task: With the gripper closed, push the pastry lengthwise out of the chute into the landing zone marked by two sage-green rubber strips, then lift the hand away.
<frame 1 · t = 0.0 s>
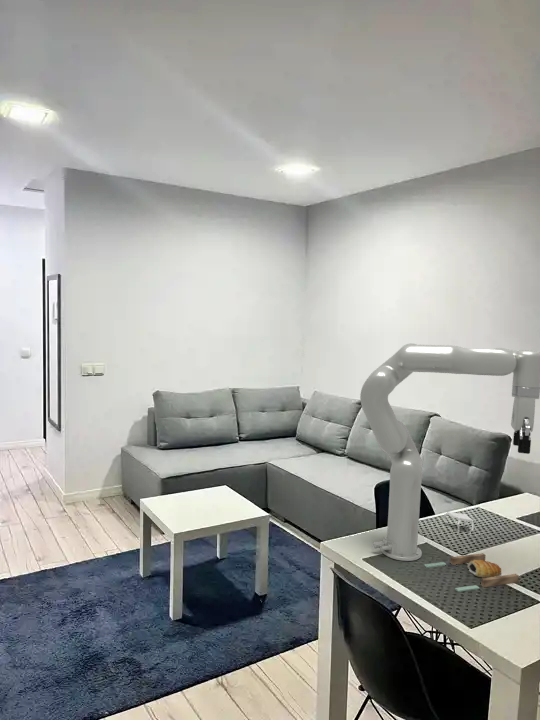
hand: (521, 449, 168), 37 cm above the table, tool pointing down, fingers open, 9 cm apart
chute: (483, 572, 169), on the table
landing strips: (450, 576, 165), on the table
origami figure: (458, 528, 204), on the table
pastry: (482, 573, 169), on the table
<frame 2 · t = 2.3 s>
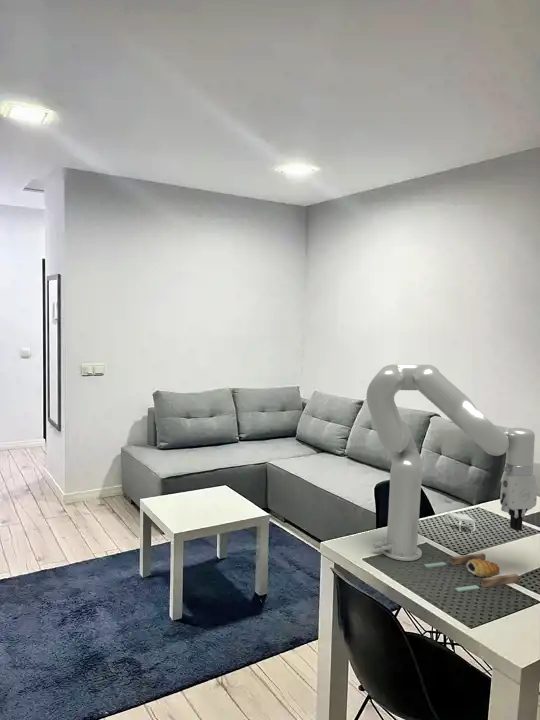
hand: (515, 529, 170), 13 cm above the table, tool pointing down, fingers closed
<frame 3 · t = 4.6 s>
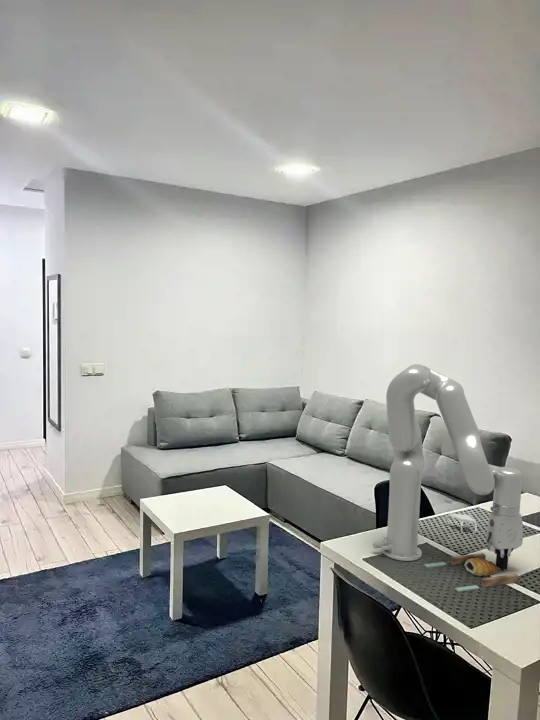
hand: (501, 567, 171), 1 cm above the table, tool pointing down, fingers closed
pastry: (479, 572, 170), on the table, touching gripper
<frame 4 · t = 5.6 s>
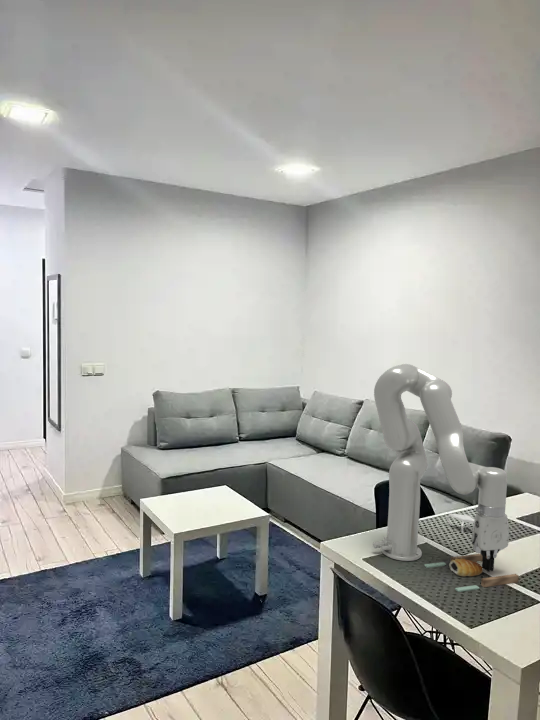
hand: (487, 569, 169), 1 cm above the table, tool pointing down, fingers closed
pastry: (464, 572, 169), on the table, touching gripper
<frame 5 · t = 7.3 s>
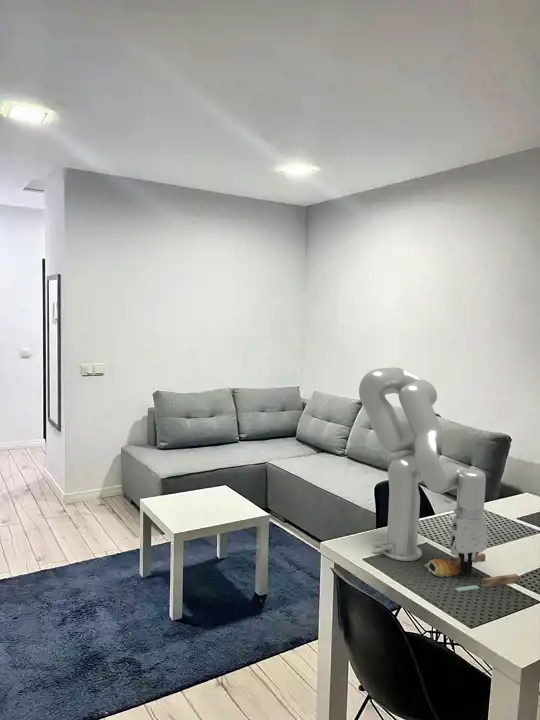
hand: (465, 572, 166), 1 cm above the table, tool pointing down, fingers closed
pastry: (442, 573, 168), on the table
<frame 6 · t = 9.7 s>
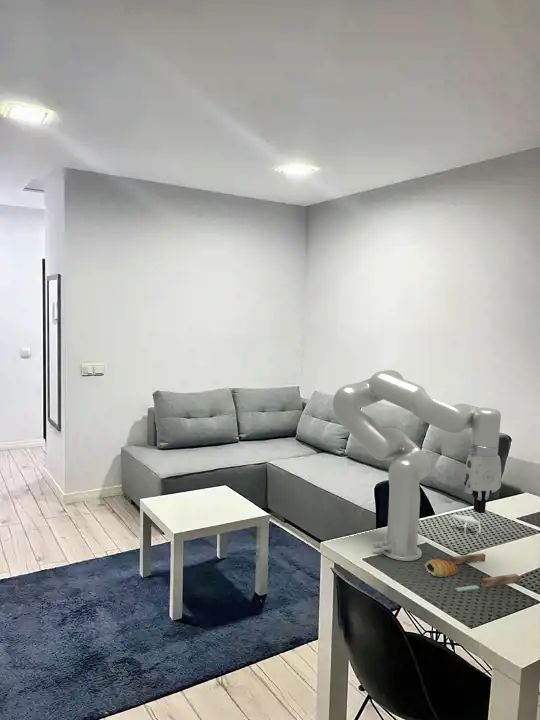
hand: (479, 511, 166), 19 cm above the table, tool pointing down, fingers closed
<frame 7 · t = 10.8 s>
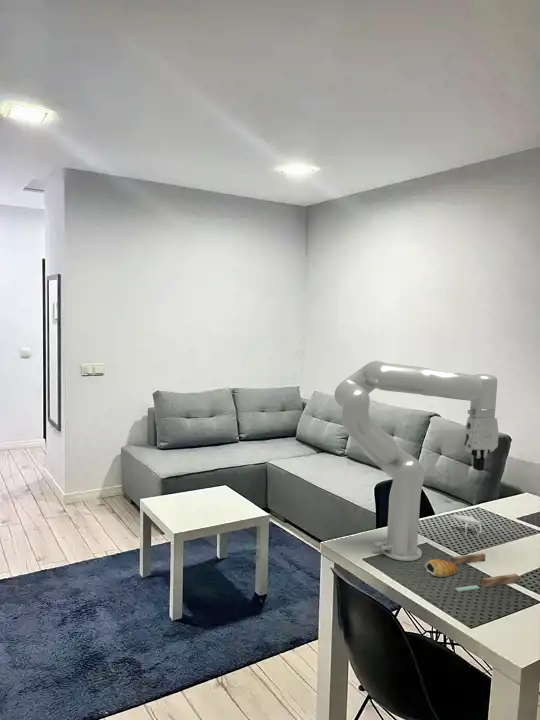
hand: (478, 469, 182), 27 cm above the table, tool pointing down, fingers closed
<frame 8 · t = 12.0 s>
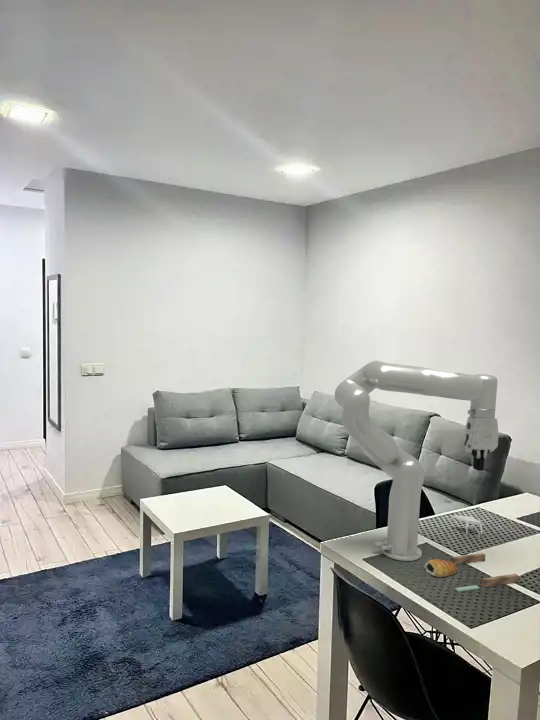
hand: (478, 469, 182), 27 cm above the table, tool pointing down, fingers closed
at the end: pastry inside the target area (4.1 cm from its centre), on the table; pastry moved 13.2 cm from its start; pastry tilted 0° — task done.
